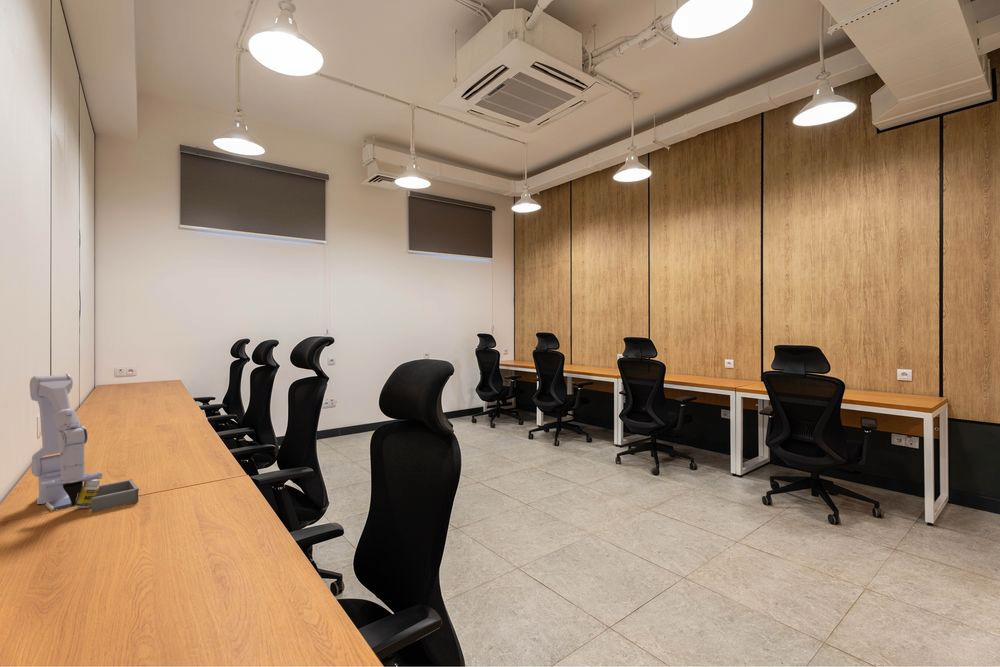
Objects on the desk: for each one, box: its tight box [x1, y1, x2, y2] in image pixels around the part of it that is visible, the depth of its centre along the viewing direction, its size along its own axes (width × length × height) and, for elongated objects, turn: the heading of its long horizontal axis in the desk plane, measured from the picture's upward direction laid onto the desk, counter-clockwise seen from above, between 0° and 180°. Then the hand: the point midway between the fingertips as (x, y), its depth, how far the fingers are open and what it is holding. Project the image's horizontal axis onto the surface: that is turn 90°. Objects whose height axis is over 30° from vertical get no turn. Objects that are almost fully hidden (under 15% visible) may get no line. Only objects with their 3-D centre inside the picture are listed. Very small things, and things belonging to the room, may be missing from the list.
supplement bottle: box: [74, 479, 101, 509], centre depth 150 cm, size 5×5×8 cm
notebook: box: [45, 495, 78, 511], centre depth 154 cm, size 8×11×1 cm
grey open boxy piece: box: [91, 478, 140, 513], centre depth 155 cm, size 14×12×5 cm
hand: (73, 505), depth 148 cm, fingers closed, pressing on supplement bottle
